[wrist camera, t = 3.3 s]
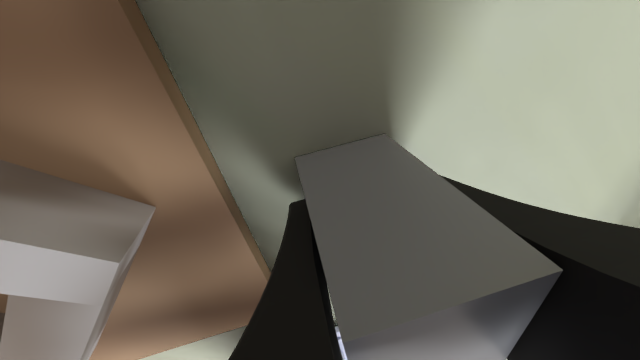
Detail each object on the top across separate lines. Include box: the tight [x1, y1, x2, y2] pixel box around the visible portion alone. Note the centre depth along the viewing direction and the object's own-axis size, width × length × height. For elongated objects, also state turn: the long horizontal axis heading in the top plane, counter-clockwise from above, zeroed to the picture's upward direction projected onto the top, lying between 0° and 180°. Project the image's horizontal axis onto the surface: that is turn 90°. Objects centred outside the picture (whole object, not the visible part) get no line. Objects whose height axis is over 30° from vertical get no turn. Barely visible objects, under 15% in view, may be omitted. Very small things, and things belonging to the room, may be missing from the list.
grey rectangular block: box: [295, 134, 563, 360], centre depth 8 cm, size 4×4×7 cm
